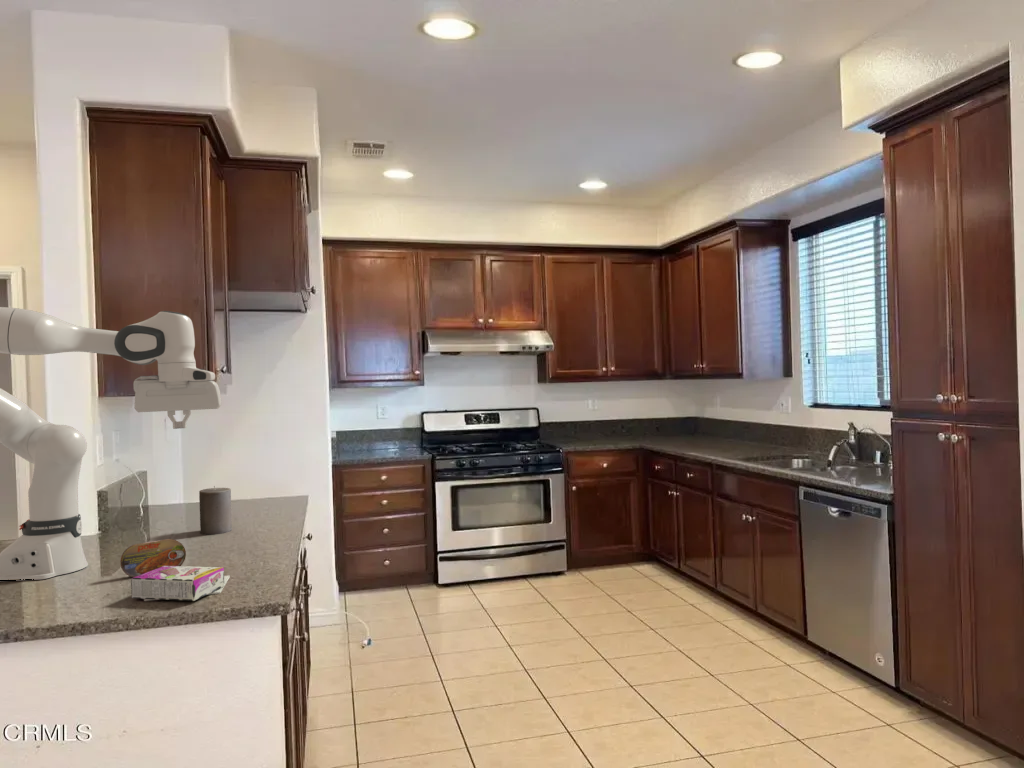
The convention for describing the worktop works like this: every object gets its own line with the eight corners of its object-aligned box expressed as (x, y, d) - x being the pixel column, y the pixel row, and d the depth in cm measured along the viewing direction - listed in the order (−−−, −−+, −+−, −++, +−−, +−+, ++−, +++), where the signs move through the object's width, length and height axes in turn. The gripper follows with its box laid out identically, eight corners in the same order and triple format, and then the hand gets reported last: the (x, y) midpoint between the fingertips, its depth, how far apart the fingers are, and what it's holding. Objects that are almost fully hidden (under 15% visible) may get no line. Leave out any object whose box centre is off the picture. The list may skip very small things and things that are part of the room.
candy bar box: (164, 563, 170) (224, 566, 167) (164, 584, 170) (225, 587, 167) (129, 577, 159) (193, 579, 156) (130, 599, 159) (194, 602, 156)
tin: (121, 580, 177) (119, 547, 177) (120, 577, 180) (118, 544, 180) (186, 569, 185) (185, 537, 185) (184, 567, 188) (183, 535, 188)
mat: (144, 601, 159) (144, 599, 159) (160, 583, 173) (159, 581, 173) (220, 593, 163) (220, 591, 163) (229, 577, 176) (229, 575, 176)
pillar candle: (194, 535, 227) (193, 488, 227) (208, 528, 237) (207, 483, 237) (224, 534, 227) (223, 488, 227) (237, 527, 237) (235, 483, 236)
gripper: (129, 376, 176) (131, 431, 176) (217, 373, 181) (219, 427, 181) (136, 376, 182) (139, 429, 183) (221, 373, 187) (223, 425, 187)
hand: (179, 428), depth 182 cm, fingers closed
